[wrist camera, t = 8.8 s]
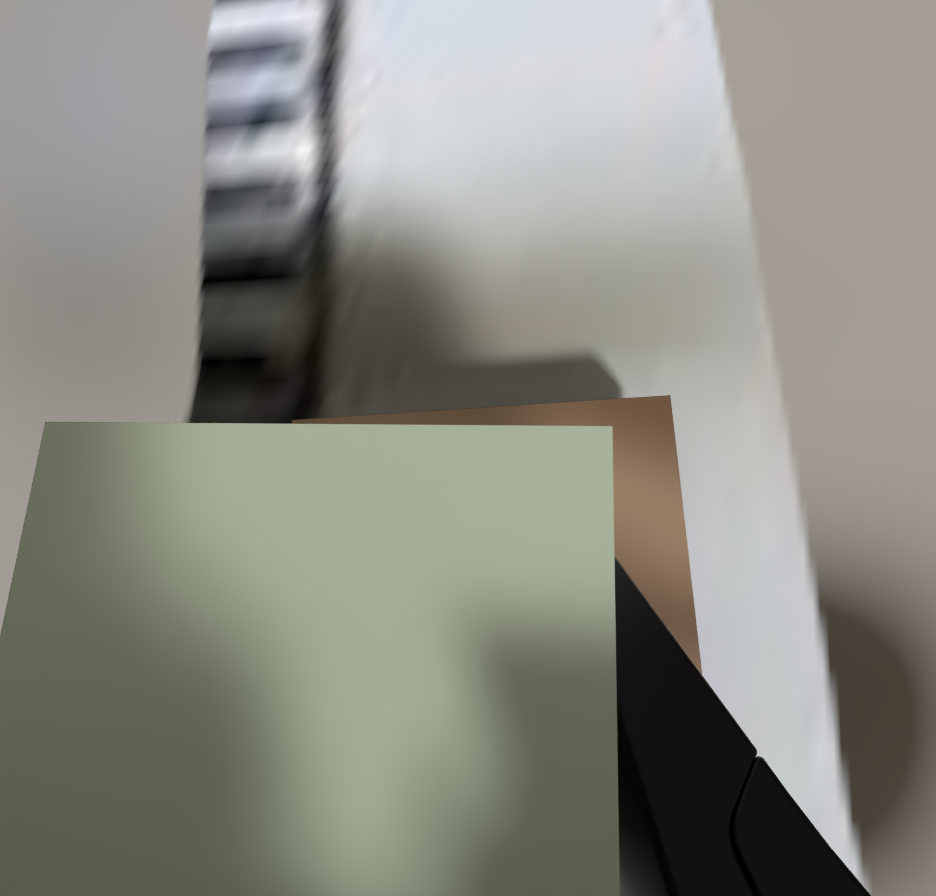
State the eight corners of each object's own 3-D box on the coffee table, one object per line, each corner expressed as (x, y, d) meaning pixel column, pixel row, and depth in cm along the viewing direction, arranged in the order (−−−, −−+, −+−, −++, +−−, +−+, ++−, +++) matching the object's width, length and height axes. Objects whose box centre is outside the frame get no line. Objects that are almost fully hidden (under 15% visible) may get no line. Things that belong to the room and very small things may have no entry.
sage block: (557, 712, 14) (626, 1247, 3) (382, 698, 14) (-99, 1101, 3) (558, 530, 14) (612, 426, 4) (394, 524, 15) (45, 422, 4)
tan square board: (690, 796, 17) (721, 844, 14) (317, 788, 18) (275, 831, 15) (650, 420, 19) (670, 395, 16) (327, 440, 21) (291, 420, 18)
